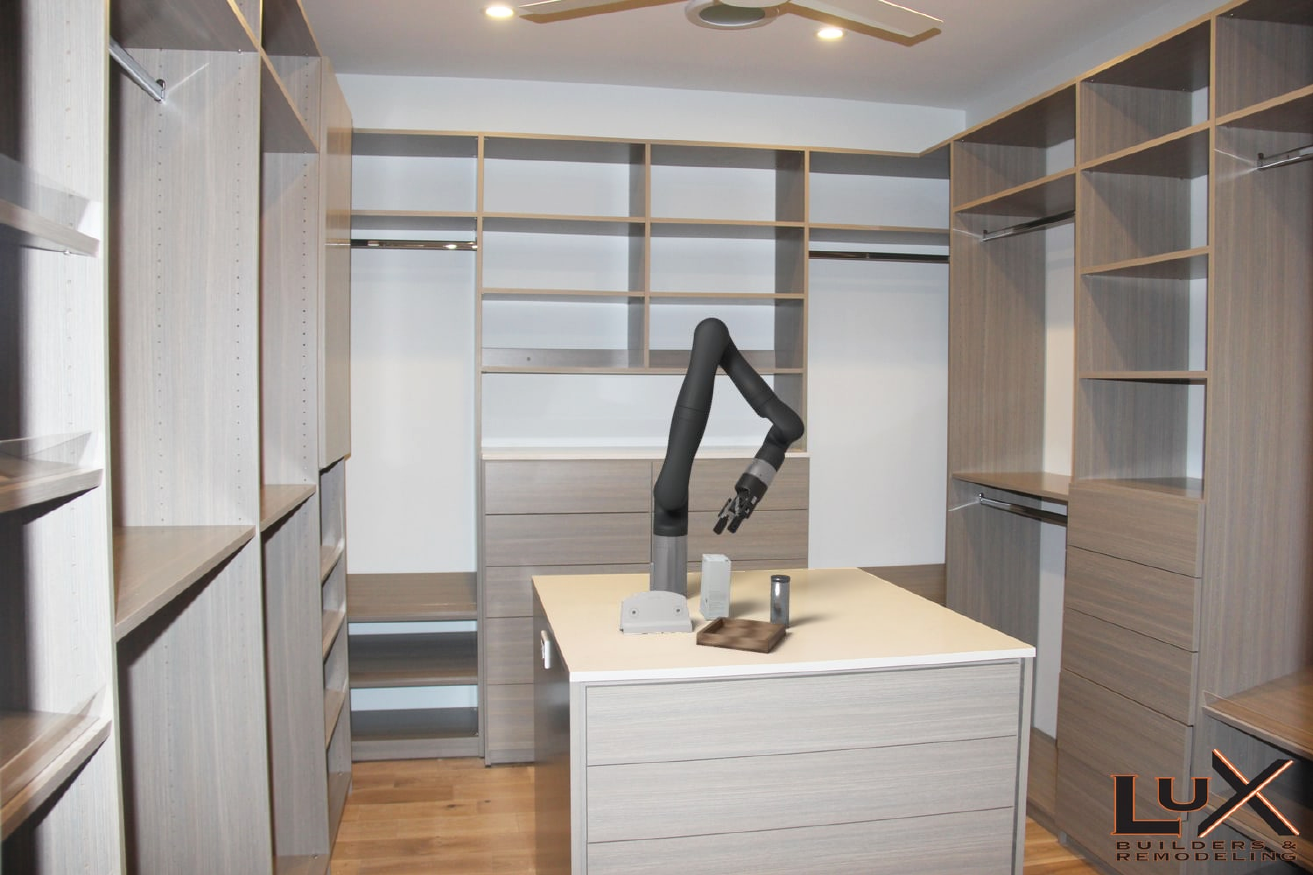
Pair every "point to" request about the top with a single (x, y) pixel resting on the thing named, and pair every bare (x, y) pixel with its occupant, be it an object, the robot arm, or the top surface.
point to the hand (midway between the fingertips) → (723, 532)
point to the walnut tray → (741, 634)
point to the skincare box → (715, 586)
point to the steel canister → (780, 599)
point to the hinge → (655, 613)
